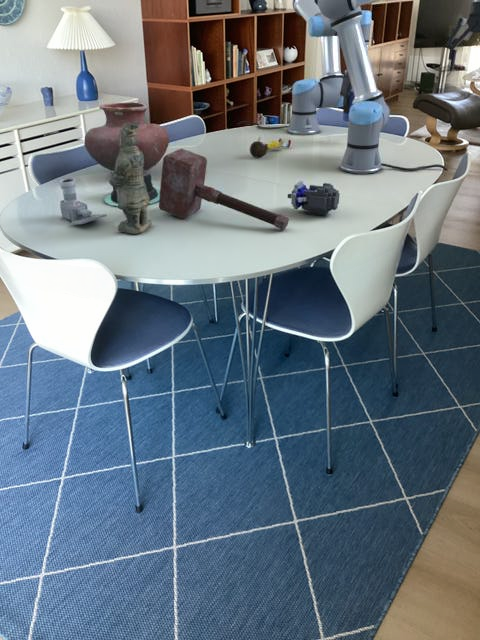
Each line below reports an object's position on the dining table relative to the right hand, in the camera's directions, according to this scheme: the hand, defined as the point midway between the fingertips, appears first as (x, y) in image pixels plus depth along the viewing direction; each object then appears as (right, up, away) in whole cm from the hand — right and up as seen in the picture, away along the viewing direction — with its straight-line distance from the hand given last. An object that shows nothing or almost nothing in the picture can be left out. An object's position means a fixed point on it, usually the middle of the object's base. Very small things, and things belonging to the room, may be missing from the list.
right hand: (471, 71), depth 194 cm
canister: (-32, 0, +46) cm, 56 cm away
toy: (-59, -54, -23) cm, 83 cm away
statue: (-112, -61, -32) cm, 131 cm away
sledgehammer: (-86, -57, -28) cm, 107 cm away
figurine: (-68, -16, +42) cm, 82 cm away
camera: (-129, -57, -25) cm, 144 cm away
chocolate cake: (-117, -46, -7) cm, 126 cm away
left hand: (-32, +3, +45) cm, 55 cm away
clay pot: (-123, -31, +19) cm, 128 cm away
